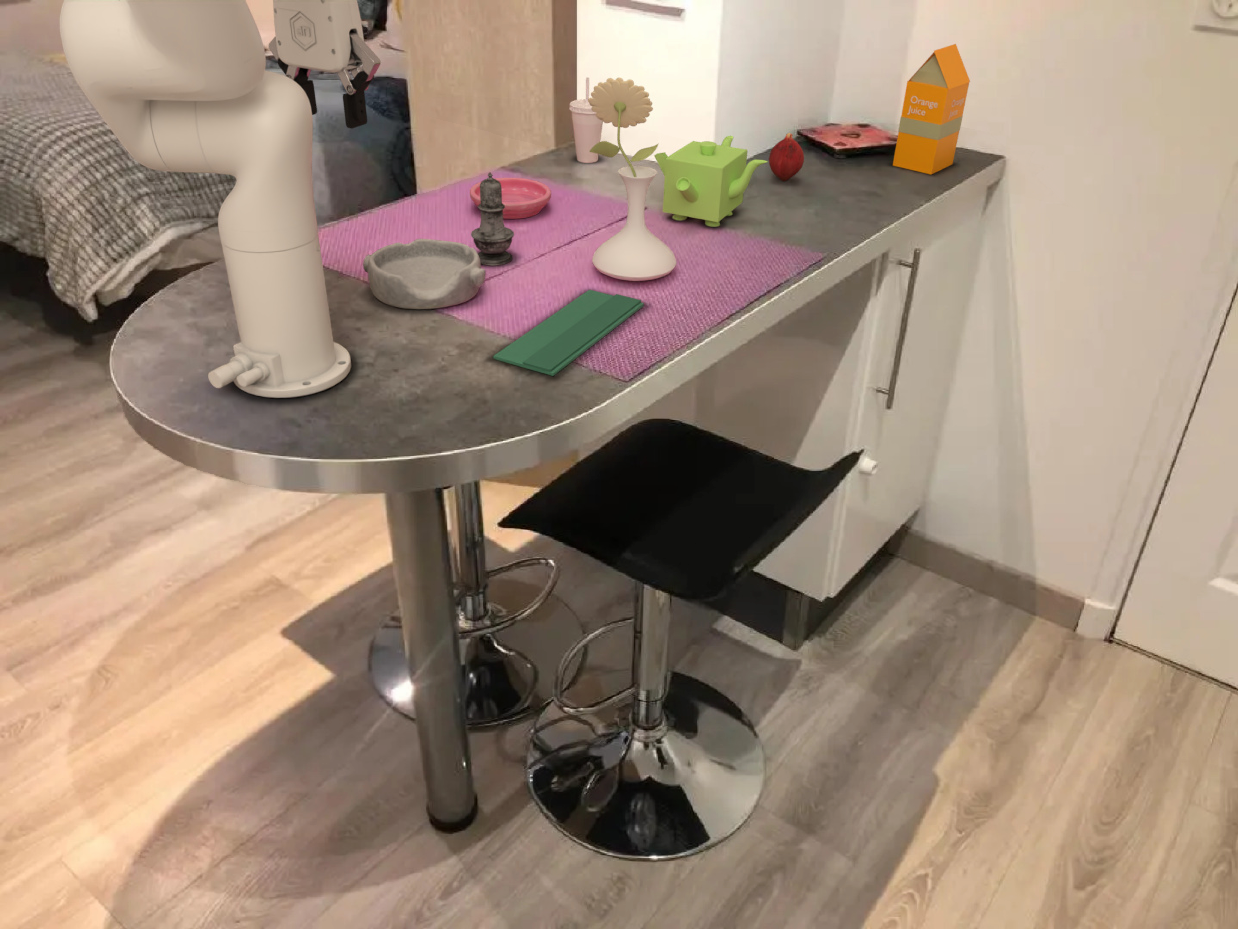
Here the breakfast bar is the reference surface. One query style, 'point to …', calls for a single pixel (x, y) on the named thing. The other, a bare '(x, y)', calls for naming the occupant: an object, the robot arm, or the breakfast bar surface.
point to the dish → (424, 274)
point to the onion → (786, 158)
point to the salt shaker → (492, 225)
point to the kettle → (705, 180)
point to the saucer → (518, 197)
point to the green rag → (569, 332)
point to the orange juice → (932, 113)
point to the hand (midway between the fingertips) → (331, 119)
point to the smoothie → (585, 128)
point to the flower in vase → (629, 188)
